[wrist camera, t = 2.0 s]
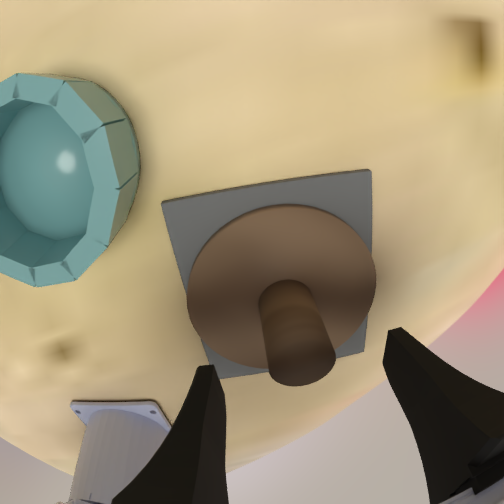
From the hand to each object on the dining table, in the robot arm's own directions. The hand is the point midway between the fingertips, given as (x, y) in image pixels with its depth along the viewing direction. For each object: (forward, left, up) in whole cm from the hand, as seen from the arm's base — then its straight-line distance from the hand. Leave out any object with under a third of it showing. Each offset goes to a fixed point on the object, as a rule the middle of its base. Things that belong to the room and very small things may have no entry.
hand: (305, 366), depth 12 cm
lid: (0, 0, -5) cm, 5 cm away
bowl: (+9, +10, -6) cm, 15 cm away
